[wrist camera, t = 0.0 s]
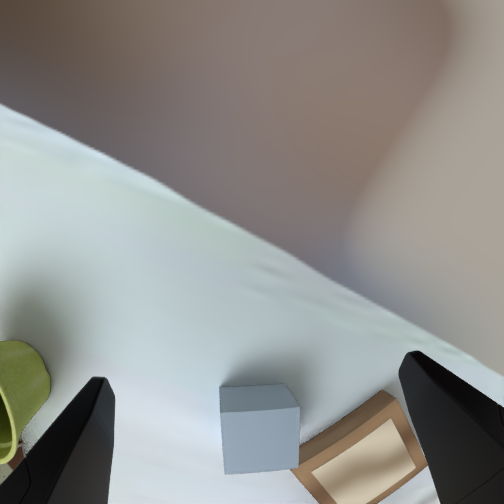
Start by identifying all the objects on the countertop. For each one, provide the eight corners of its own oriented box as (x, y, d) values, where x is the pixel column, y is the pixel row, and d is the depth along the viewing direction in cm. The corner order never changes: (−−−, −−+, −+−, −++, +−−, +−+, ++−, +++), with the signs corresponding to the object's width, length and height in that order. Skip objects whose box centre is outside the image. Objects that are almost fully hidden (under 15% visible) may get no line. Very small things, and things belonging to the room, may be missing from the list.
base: (415, 454, 24) (428, 465, 21) (332, 511, 23) (340, 526, 20) (382, 389, 24) (397, 399, 21) (284, 454, 23) (290, 471, 20)
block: (284, 382, 23) (300, 406, 18) (284, 436, 23) (298, 467, 18) (219, 386, 23) (220, 412, 18) (222, 441, 22) (224, 474, 17)
